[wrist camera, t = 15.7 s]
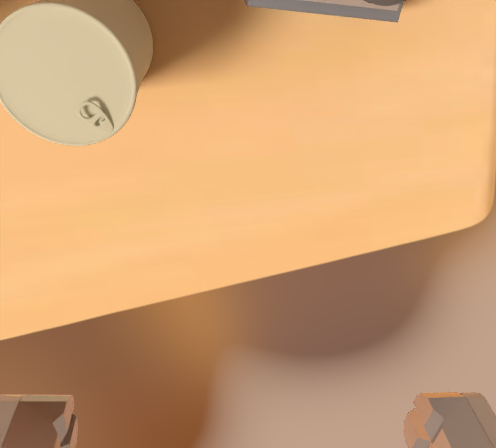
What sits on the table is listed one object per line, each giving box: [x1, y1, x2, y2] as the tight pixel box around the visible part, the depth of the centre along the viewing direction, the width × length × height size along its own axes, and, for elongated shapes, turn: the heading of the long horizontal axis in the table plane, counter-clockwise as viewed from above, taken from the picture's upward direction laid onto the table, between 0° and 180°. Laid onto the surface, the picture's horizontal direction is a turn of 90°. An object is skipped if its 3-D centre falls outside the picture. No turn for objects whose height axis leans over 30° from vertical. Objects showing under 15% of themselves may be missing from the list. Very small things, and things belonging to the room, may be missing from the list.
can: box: [0, 0, 153, 146], centre depth 34 cm, size 9×9×12 cm
